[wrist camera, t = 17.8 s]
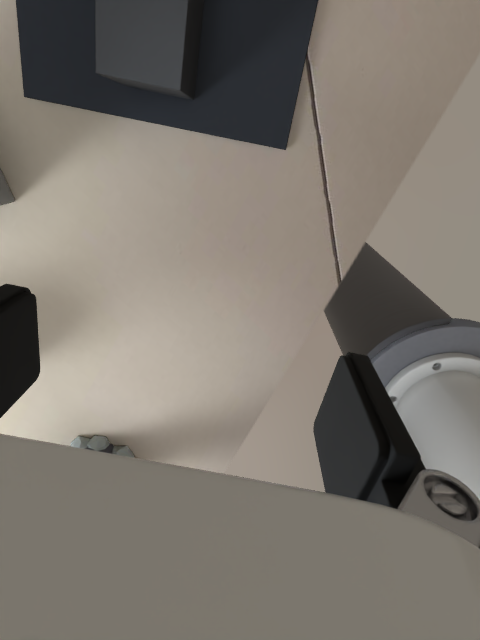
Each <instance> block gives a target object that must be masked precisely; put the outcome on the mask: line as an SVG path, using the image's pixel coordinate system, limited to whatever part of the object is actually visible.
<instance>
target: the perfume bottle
mask: <svg viewBox="0 0 480 640" xmlns="http://www.w3.org/2000/svg"><path fill="white" fill-rule="evenodd" d="M14 201H15V199H14V197H13V195H12V193H11V191H10V188H9V186H8V184H7V182H6V180H5V178H4V175H3V173H2V171H1V169H0V205H3V204H7V203H11V202H14Z"/></svg>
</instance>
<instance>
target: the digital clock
mask: <svg viewBox="0 0 480 640" xmlns="http://www.w3.org/2000/svg"><path fill="white" fill-rule="evenodd" d="M203 9H204V0H95V59H96V73H97V74H99V75H101V76H104V77H106V78H108V79H111V80H113V81H116V82H118V83H120V84H123V85H125V86H128V87H132V88H137V89H142V90H147V91H152V92H156V93H161V94H166V95H171V96H175V97H180V98H185V99H190V100H194V96H195V86H196V77H197V67H198V57H199V48H200V38H201V28H202V19H203Z"/></svg>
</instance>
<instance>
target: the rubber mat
mask: <svg viewBox="0 0 480 640" xmlns="http://www.w3.org/2000/svg"><path fill="white" fill-rule="evenodd" d="M317 3H318V0H204V9H203V19H202V28H201V38H200V48H199V57H198V67H197V77H196V86H195V96H194V100H190V99H185V98H180V97H175V96H171V95H166V94H161V93H156V92H152V91H147V90H142V89H137V88H132V87H128V86H125V85H123V84H120V83H118V82H116V81H113V80H111V79H108V78H106V77H104V76H101V75H99V74H97V73H96V59H95V0H16V7H17V18H18V30H19V42H20V54H21V65H22V77H23V89H24V97H27V98H32V99H37V100H42V101H47V102H52V103H57V104H62V105H67V106H72V107H77V108H82V109H87V110H92V111H96V112H101V113H106V114H111V115H116V116H121V117H126V118H131V119H136V120H141V121H146V122H151V123H156V124H161V125H165V126H170V127H175V128H180V129H185V130H190V131H195V132H200V133H205V134H210V135H215V136H220V137H225V138H230V139H234V140H239V141H244V142H249V143H254V144H259V145H264V146H269V147H274V148H279V149H284V150H286V146H287V141H288V137H289V132H290V127H291V123H292V118H293V114H294V109H295V104H296V100H297V95H298V91H299V86H300V81H301V77H302V72H303V67H304V63H305V58H306V54H307V49H308V44H309V40H310V35H311V31H312V26H313V21H314V17H315V12H316V7H317Z"/></svg>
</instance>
